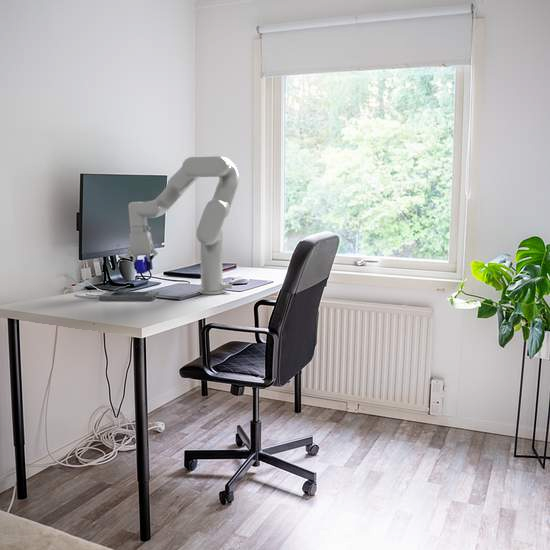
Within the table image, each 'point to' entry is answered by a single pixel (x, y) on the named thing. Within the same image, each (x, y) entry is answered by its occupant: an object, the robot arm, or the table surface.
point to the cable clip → (142, 266)
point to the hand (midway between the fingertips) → (143, 270)
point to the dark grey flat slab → (128, 296)
